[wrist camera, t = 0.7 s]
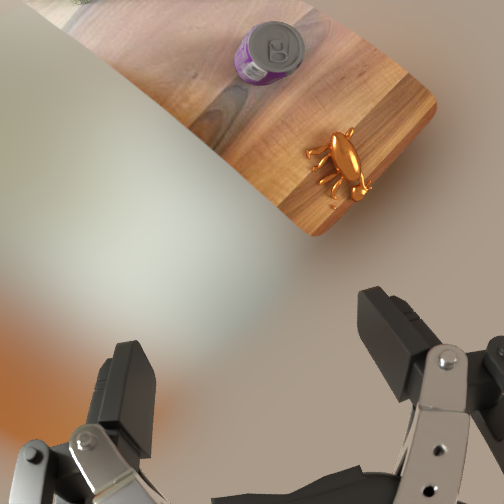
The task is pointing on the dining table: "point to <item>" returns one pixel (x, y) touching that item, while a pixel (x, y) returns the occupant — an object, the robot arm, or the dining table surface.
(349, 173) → the figurine
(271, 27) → the beverage can
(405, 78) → the dining table surface
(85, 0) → the cup
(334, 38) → the dining table surface
